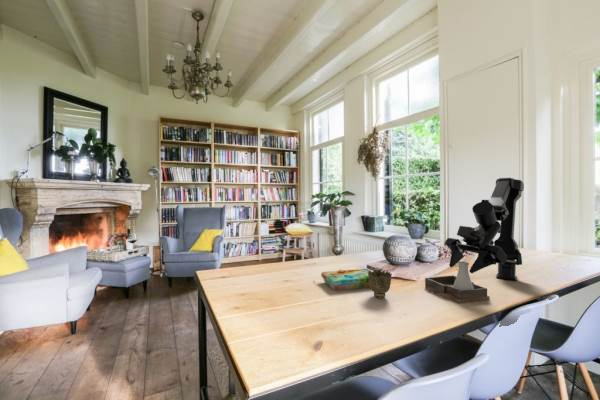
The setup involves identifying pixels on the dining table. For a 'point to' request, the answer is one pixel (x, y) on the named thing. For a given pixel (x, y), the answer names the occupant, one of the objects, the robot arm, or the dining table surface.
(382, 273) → the cup
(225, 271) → the dining table surface
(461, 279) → the flask
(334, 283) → the puzzle game
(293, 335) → the dining table surface
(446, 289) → the walnut dock
